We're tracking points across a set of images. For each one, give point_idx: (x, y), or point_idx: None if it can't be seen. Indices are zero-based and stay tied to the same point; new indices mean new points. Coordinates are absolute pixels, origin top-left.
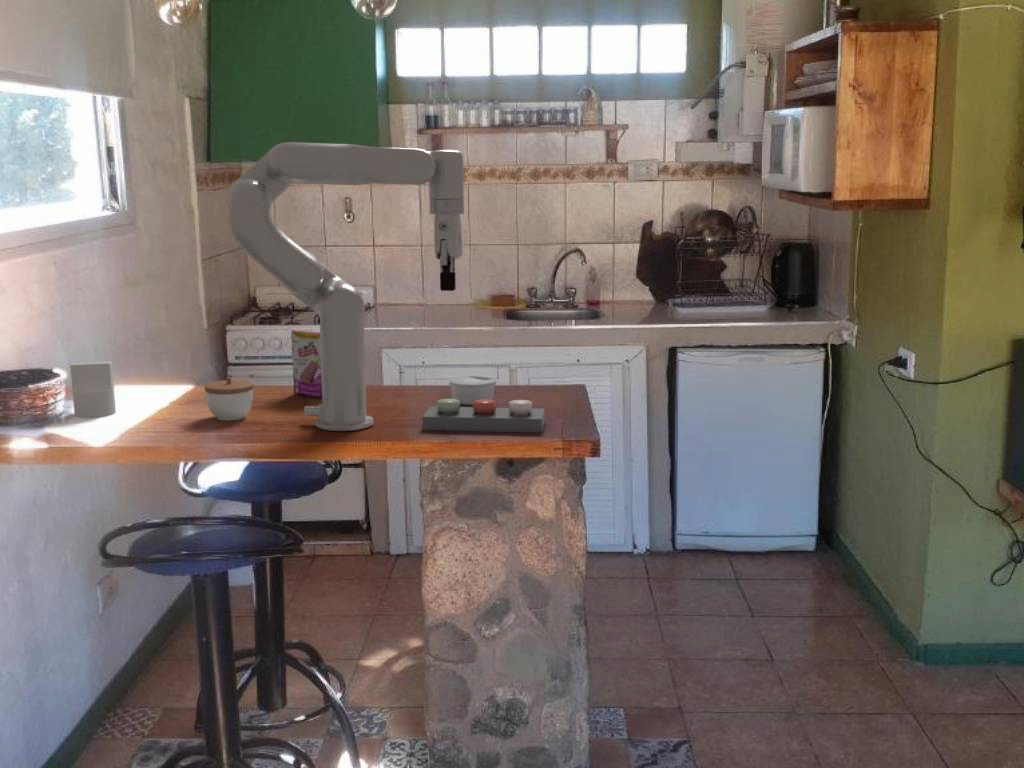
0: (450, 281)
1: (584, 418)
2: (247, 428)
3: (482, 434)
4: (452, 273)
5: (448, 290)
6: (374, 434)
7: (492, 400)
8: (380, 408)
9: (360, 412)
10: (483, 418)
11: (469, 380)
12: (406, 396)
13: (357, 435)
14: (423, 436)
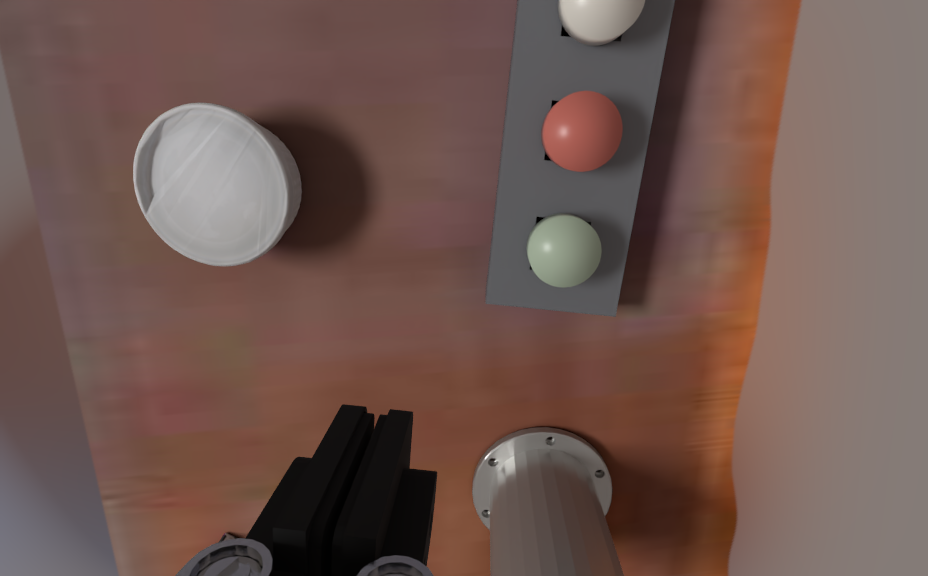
0: (422, 501)
1: None
2: None
3: (670, 137)
4: (378, 553)
5: (409, 458)
6: (638, 413)
7: (565, 103)
8: None
9: (578, 473)
10: (649, 134)
11: (213, 199)
12: (210, 374)
13: (644, 448)
14: (673, 297)
